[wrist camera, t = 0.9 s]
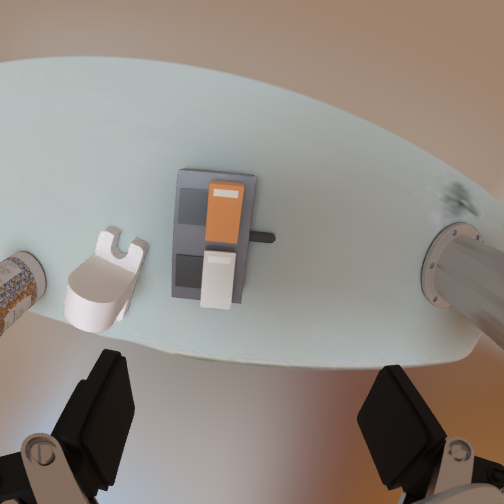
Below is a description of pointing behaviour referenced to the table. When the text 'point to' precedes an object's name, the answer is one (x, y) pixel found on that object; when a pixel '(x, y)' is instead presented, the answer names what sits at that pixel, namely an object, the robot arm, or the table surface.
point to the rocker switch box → (194, 230)
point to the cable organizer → (103, 283)
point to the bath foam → (19, 287)
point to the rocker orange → (224, 211)
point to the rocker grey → (217, 279)
